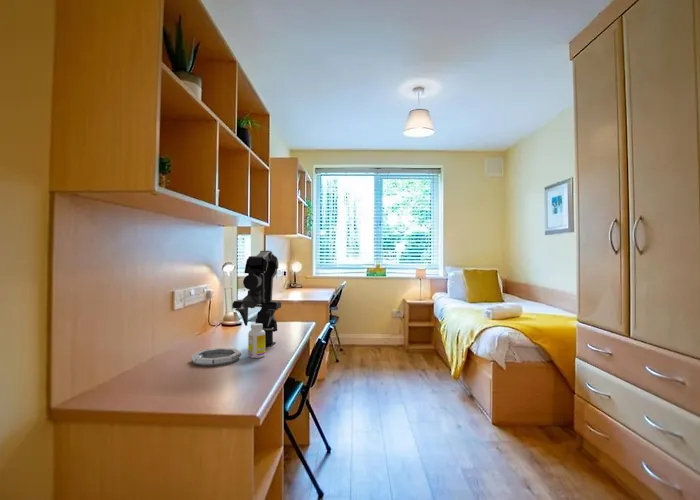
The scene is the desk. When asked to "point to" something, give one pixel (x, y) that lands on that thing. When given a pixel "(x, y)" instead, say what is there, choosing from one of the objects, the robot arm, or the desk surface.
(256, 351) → the supplement bottle
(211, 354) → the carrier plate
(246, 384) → the desk surface
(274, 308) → the robot arm
